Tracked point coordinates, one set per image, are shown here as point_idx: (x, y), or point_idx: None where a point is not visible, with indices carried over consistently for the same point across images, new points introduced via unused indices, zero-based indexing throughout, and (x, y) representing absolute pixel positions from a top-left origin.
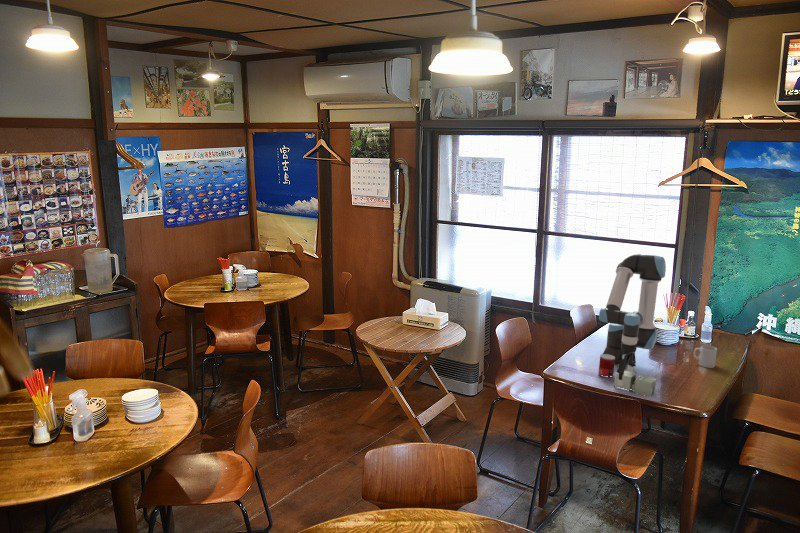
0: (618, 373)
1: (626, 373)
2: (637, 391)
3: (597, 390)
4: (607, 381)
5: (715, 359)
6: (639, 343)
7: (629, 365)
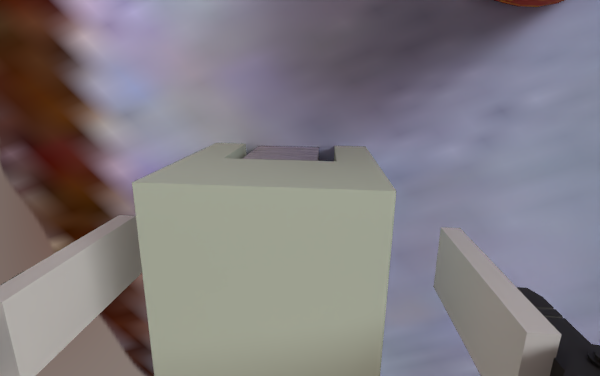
0: (160, 226)
1: (262, 324)
2: None
3: (8, 39)
4: (331, 18)
5: None
6: None
7: (556, 350)
